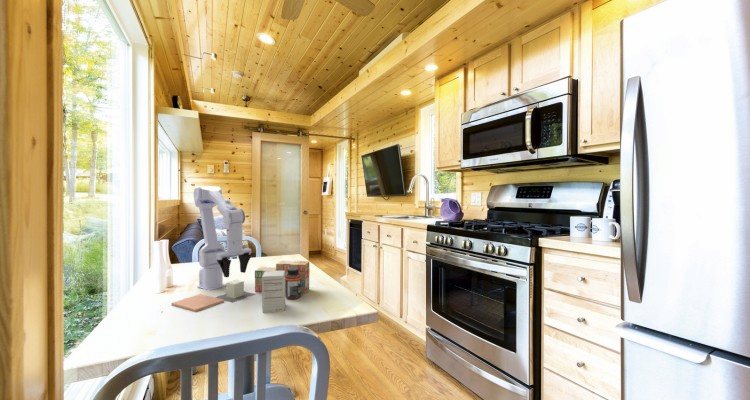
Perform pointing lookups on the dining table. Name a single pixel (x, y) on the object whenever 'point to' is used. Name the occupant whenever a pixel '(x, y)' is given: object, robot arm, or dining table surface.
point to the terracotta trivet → (197, 302)
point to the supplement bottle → (293, 284)
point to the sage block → (235, 289)
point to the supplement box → (273, 291)
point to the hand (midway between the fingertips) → (235, 274)
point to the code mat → (246, 294)
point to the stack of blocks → (284, 266)
